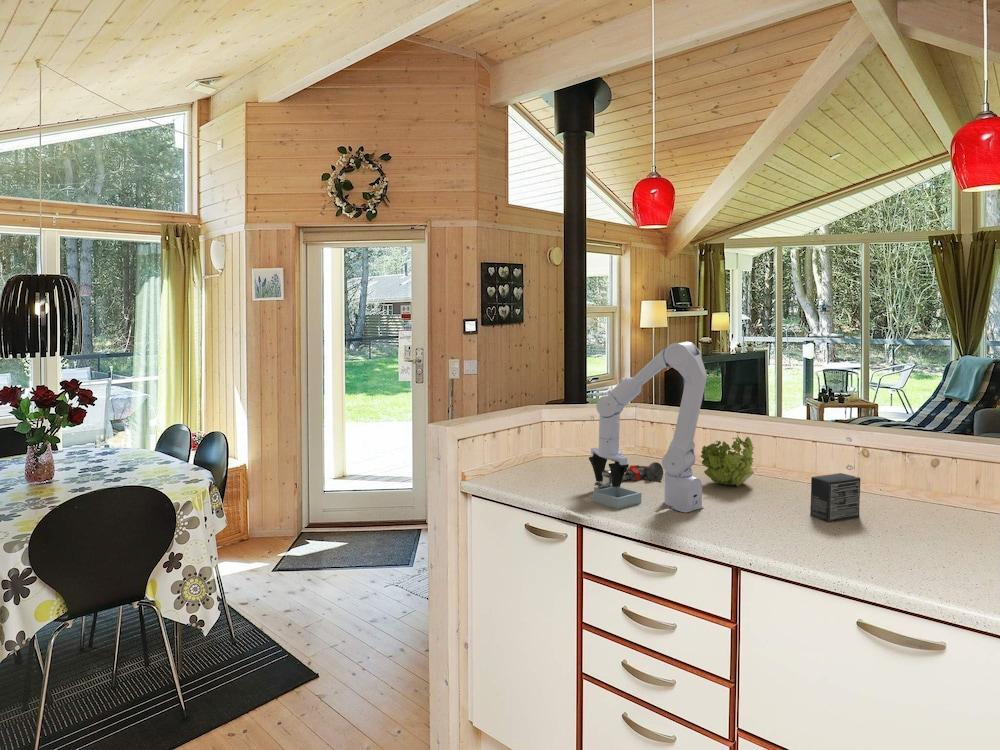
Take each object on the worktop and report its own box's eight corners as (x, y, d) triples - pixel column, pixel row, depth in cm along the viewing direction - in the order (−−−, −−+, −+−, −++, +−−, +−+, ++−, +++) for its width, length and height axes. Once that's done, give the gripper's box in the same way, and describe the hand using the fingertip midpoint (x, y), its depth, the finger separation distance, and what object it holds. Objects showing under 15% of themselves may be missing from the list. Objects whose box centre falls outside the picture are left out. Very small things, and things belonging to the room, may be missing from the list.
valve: (638, 476, 224) (673, 479, 211) (578, 492, 209) (611, 496, 197) (636, 457, 224) (670, 458, 211) (575, 471, 209) (608, 474, 197)
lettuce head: (762, 479, 192) (718, 441, 194) (725, 507, 202) (683, 471, 203) (772, 447, 206) (731, 412, 208) (737, 475, 216) (698, 441, 217)
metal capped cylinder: (617, 492, 193) (618, 471, 193) (608, 494, 191) (608, 473, 190) (608, 489, 196) (608, 469, 196) (598, 491, 194) (598, 471, 193)
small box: (839, 511, 178) (841, 471, 177) (860, 518, 172) (862, 477, 171) (808, 515, 174) (810, 475, 173) (828, 523, 168) (830, 481, 167)
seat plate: (623, 495, 193) (623, 488, 193) (608, 499, 190) (608, 492, 189) (607, 490, 198) (607, 484, 198) (593, 494, 194) (593, 487, 194)
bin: (641, 505, 184) (641, 492, 183) (617, 511, 178) (617, 498, 178) (616, 497, 191) (616, 485, 191) (592, 503, 185) (592, 491, 185)
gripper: (636, 441, 188) (635, 488, 189) (605, 431, 200) (604, 476, 202) (616, 443, 184) (614, 492, 186) (585, 433, 197) (584, 479, 199)
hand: (607, 484), depth 194 cm, fingers open, 7 cm apart
